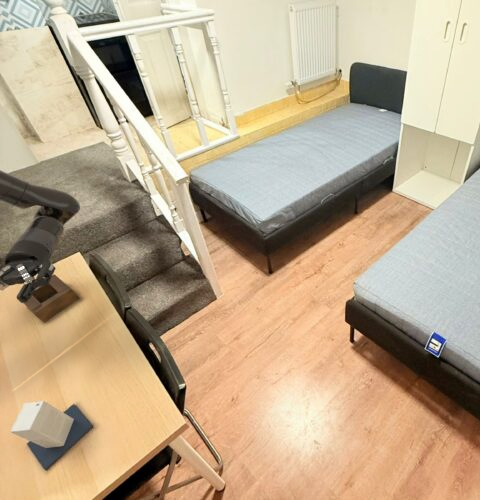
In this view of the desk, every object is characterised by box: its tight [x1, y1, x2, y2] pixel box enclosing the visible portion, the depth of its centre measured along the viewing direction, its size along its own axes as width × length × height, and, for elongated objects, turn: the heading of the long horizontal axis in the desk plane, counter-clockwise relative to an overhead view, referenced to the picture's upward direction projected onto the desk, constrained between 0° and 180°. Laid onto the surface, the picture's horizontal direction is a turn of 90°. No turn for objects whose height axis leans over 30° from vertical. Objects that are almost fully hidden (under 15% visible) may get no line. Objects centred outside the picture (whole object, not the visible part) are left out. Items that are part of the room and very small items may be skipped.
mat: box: [26, 403, 94, 471], centre depth 79 cm, size 11×9×1 cm
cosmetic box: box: [9, 400, 74, 448], centre depth 75 cm, size 6×4×12 cm
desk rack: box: [23, 273, 80, 324], centre depth 106 cm, size 11×11×5 cm
